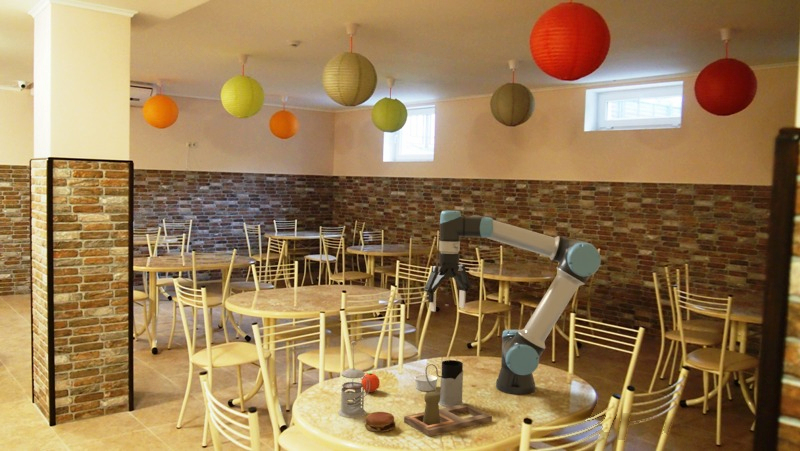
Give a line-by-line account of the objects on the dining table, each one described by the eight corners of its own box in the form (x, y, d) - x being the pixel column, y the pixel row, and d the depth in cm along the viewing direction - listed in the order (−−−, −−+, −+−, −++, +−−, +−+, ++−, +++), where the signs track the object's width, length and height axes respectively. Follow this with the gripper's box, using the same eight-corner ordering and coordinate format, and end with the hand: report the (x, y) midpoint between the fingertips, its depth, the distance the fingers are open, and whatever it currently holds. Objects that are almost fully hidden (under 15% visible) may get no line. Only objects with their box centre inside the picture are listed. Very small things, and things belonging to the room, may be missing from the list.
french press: (332, 411, 222) (333, 339, 221) (360, 405, 229) (361, 335, 228) (347, 420, 215) (349, 346, 213) (376, 413, 222) (378, 341, 220)
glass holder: (460, 409, 228) (461, 367, 227) (421, 404, 232) (422, 363, 231) (465, 401, 236) (466, 361, 235) (427, 396, 240) (428, 357, 239)
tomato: (357, 389, 247) (357, 370, 247) (374, 387, 250) (374, 369, 250) (364, 395, 240) (365, 376, 239) (382, 393, 243) (382, 374, 242)
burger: (359, 426, 210) (360, 412, 210) (383, 420, 215) (384, 407, 215) (376, 436, 202) (376, 421, 202) (400, 430, 207) (401, 416, 207)
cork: (439, 430, 208) (440, 396, 207) (420, 428, 209) (421, 394, 208) (441, 423, 214) (442, 390, 213) (423, 421, 215) (424, 389, 214)
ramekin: (409, 387, 251) (410, 376, 251) (427, 383, 257) (427, 372, 256) (424, 393, 244) (424, 382, 244) (441, 389, 250) (442, 378, 249)
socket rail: (465, 409, 228) (465, 402, 228) (491, 421, 216) (492, 415, 216) (404, 422, 214) (404, 415, 214) (428, 436, 202) (428, 429, 202)
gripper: (427, 254, 228) (425, 314, 230) (481, 252, 242) (480, 308, 243) (415, 252, 235) (414, 310, 236) (469, 250, 248) (467, 304, 250)
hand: (447, 309), depth 240 cm, fingers open, 13 cm apart
